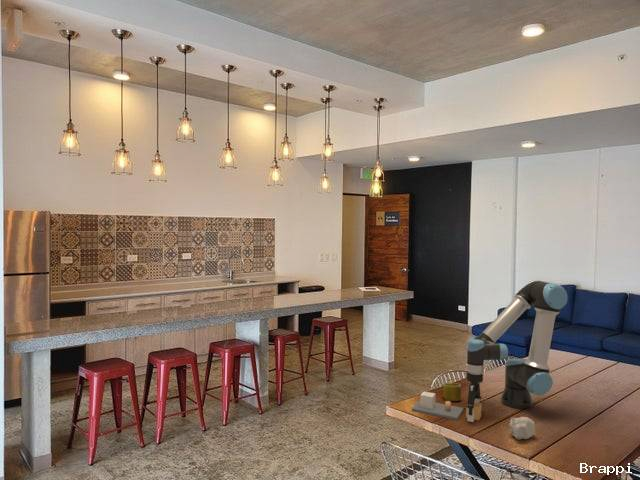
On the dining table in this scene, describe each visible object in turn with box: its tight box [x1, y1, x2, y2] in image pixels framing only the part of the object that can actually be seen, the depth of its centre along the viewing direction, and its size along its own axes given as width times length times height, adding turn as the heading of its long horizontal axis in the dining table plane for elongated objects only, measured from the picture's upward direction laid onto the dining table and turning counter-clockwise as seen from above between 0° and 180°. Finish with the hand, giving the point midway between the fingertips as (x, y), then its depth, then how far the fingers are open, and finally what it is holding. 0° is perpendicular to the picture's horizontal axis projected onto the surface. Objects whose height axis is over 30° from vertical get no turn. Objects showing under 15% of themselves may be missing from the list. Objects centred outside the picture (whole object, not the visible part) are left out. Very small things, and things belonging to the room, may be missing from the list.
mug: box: [442, 381, 462, 402], centre depth 253 cm, size 12×10×10 cm
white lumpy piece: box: [509, 415, 536, 440], centre depth 209 cm, size 9×11×15 cm
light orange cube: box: [465, 402, 483, 421], centre depth 229 cm, size 6×6×6 cm
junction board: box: [411, 391, 464, 421], centre depth 236 cm, size 22×14×7 cm, turn 62°
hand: (473, 416), depth 229 cm, fingers open, 13 cm apart
